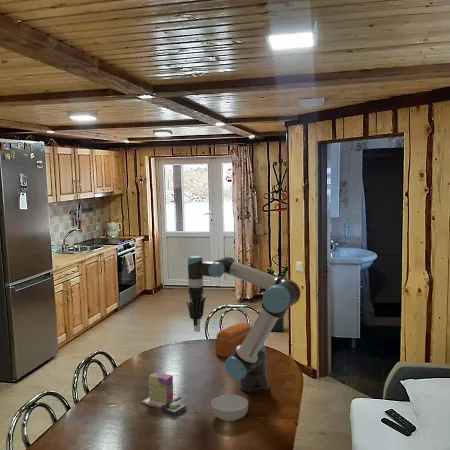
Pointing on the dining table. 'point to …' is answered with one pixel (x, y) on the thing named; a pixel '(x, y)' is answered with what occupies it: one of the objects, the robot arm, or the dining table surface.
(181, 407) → the button housing
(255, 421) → the dining table surface
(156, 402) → the clipboard
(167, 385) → the box
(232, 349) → the bread
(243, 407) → the cereal bowl
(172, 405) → the button
